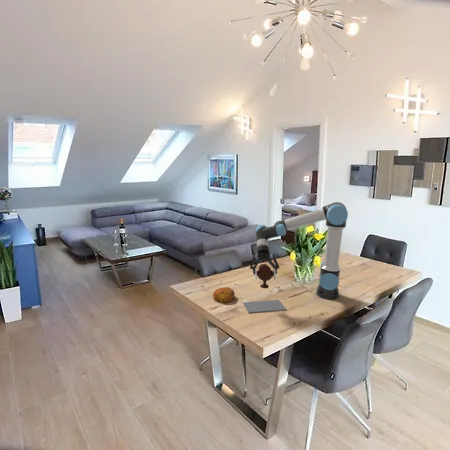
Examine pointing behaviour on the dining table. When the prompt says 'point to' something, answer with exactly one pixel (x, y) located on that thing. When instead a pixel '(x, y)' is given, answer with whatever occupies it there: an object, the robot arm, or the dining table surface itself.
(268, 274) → the ice cream bowl
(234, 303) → the dining table surface
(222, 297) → the orange-brown rounded lump
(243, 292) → the dining table surface
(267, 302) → the placemat
